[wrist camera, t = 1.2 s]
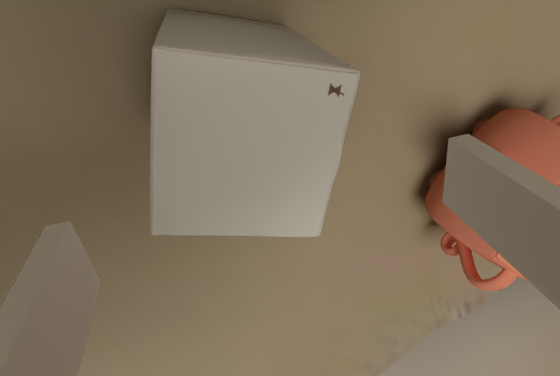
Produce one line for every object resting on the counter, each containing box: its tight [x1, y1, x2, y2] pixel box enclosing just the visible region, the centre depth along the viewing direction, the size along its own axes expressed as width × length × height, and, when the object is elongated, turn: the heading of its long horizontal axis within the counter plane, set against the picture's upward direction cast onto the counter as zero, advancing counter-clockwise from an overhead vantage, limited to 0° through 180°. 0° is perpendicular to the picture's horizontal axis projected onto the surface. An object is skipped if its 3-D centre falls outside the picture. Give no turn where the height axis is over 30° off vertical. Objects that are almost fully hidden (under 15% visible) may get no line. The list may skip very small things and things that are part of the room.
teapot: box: [425, 109, 560, 291], centre depth 35 cm, size 15×17×13 cm
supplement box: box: [150, 9, 360, 237], centre depth 24 cm, size 9×9×15 cm
